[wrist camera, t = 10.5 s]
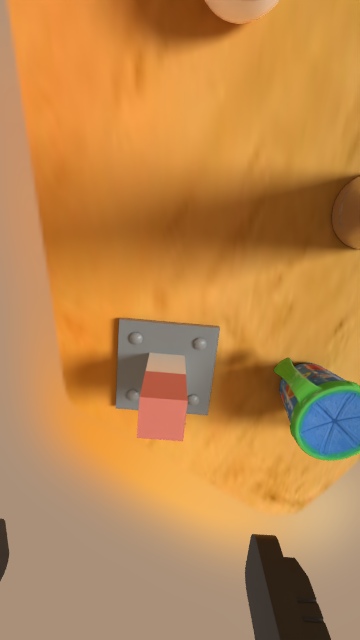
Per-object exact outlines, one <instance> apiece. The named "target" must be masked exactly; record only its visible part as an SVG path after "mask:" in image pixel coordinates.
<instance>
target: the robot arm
mask: <svg viewBox="0 0 360 640" xmlns="http://www.w3.org/2000/svg"><path fill="white" fill-rule="evenodd" d="M332 225H333V228H334V232H335V233H336V235H337V237H338V238H339V239H340V240H341V241H342V242H343V243H344V244H346V245H347V246H349V247H352V248H355V249H360V176H359V177H357V178H355V179H353V180H352V181H350V182H349V183H348V184H347V185H346V186H345V187H344V188H343V189H342V191H341V192H340V193H339V195H338V197H337V199H336V200H335V203H334V206H333V211H332ZM8 558H9V548H8V541H7V532H6V525H5V521H4V519H0V581H1V579H2V577H3V575H4V572H5V569H6V567H7V563H8ZM245 581H246V590H247V596H248V602H249V607H250V613H251V618H252V624H253V629H254V635H255V640H331V638H330V635H329V633H328V630H327V627H326V625H325V623H324V621H323V616H322V614H321V611H320V608H319V605H318V604H317V602H316V597H315V594H314V592H313V589H312V586H311V584H310V581H309V578H308V576H307V575H306V573H305V572H304V571H303V569H302V568H301V566H300V565H299V563H298V562H297V560H296V559H295V558H288V557H283V554H282V551H281V548H280V545H279V542H278V539H277V537H276V536H273V535H257V534H252V536H251V540H250V545H249V550H248V556H247V561H246V567H245Z"/></svg>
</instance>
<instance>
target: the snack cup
mask: <svg viewBox="0 0 360 640" xmlns="http://www.w3.org/2000/svg"><path fill="white" fill-rule="evenodd" d="M274 372H275V373H276V374H278V375H279V376H281V377H282V380H281V382H280V389H279V391H280V395H281V398H282V401H283V403H284V406H285V409H286V412H287V415H288V417H289V420H290V423H291V425H290V430H291V434H292V436H293V437H294V439H295V440H296V442H297V444H298V445H299V446H300V448H301V449H302V450H303V451H304V452H305V453H307V454H308V455H310V456H312V457H314V458H317V459H320V460H328V461H334V460H341V459H345V458H348V457H351V456H353V455H357V454H359V453H360V386H359V385H358V384H356V383H354V382H350V381H346V380H344V379H343V378H341V377H339V376H337V375H336V374H333V373H332V372H330V371H328V370H326V369H324V368H323V367H321V366H319V365H316V364H313V363H305V364H300V365H297V366H293V364H292V361H291V359H290V358H286V359H284V360H282V361H281V362H280V363H279V364H278V365H277V366H276V367H275V368H274Z"/></svg>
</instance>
